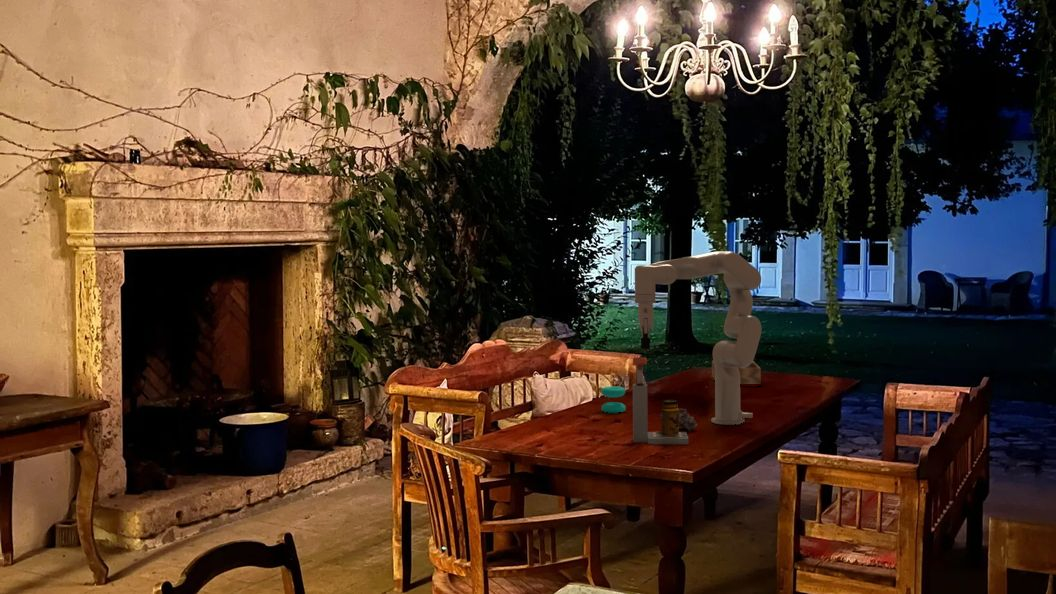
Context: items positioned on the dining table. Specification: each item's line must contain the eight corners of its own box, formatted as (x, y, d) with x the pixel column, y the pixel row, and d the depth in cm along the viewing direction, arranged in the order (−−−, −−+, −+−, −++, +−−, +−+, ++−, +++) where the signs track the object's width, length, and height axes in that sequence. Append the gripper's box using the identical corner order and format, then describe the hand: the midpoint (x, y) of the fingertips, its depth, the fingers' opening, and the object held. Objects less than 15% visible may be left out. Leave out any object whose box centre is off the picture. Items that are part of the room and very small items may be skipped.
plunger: (646, 393, 373) (646, 357, 372) (647, 395, 368) (647, 358, 367) (632, 393, 374) (632, 357, 373) (633, 395, 369) (632, 358, 368)
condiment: (680, 436, 367) (680, 402, 367) (655, 436, 368) (655, 402, 367) (679, 432, 375) (679, 399, 374) (655, 432, 375) (655, 399, 375)
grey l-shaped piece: (686, 437, 377) (685, 382, 375) (688, 444, 365) (688, 387, 363) (633, 437, 378) (632, 382, 377) (633, 444, 366) (633, 387, 365)
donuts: (627, 386, 435) (623, 389, 426) (627, 409, 436) (623, 414, 426) (603, 385, 438) (599, 389, 428) (603, 409, 438) (599, 413, 429)
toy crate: (752, 378, 522) (752, 360, 521) (760, 387, 493) (760, 368, 492) (711, 378, 523) (711, 360, 523) (717, 387, 495) (717, 368, 494)
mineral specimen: (655, 420, 391) (671, 398, 391) (665, 424, 399) (680, 403, 398) (680, 439, 384) (696, 416, 384) (689, 443, 392) (704, 421, 392)
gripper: (656, 300, 377) (656, 350, 378) (654, 297, 392) (654, 346, 393) (635, 300, 377) (635, 351, 379) (634, 297, 392) (634, 346, 393)
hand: (645, 348), depth 386 cm, fingers closed
